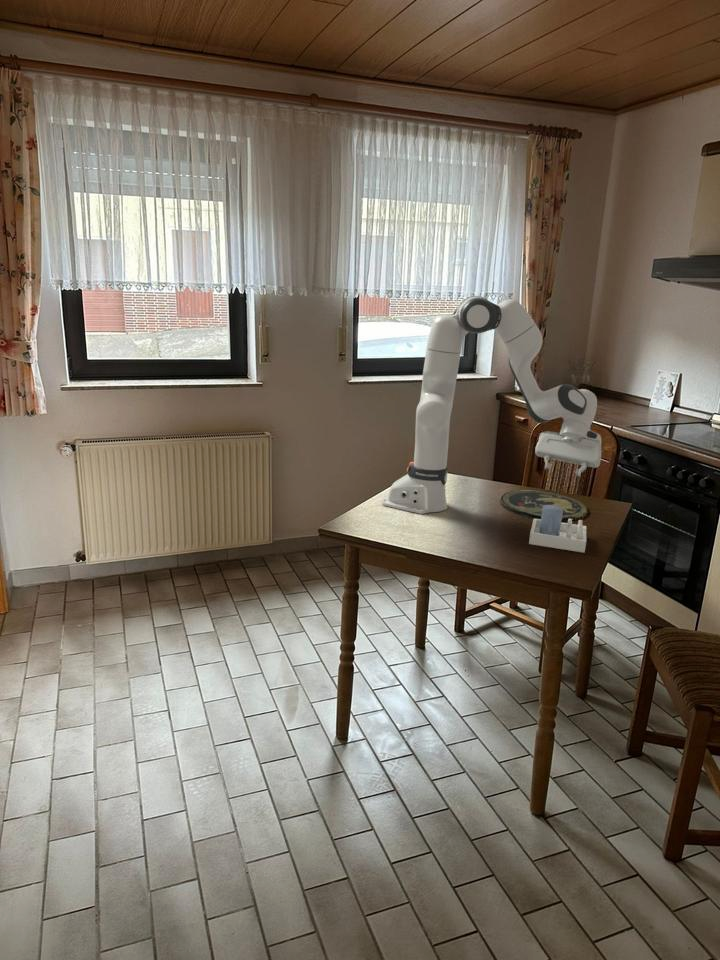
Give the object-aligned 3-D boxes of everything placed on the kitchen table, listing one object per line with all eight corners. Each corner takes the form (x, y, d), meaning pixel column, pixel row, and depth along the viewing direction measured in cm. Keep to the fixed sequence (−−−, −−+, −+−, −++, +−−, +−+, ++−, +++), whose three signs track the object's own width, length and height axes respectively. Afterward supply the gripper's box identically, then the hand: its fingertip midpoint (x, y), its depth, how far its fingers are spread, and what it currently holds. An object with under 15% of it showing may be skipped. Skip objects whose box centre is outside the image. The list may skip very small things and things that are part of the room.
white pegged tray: (528, 543, 201) (531, 525, 199) (532, 528, 214) (534, 510, 212) (584, 552, 197) (587, 533, 195) (584, 536, 209) (587, 518, 208)
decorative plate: (500, 511, 224) (500, 485, 252) (499, 516, 225) (499, 490, 253) (593, 522, 219) (582, 495, 247) (592, 527, 220) (582, 499, 248)
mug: (538, 539, 202) (541, 511, 200) (539, 531, 209) (543, 503, 207) (558, 542, 201) (562, 513, 198) (559, 534, 208) (563, 506, 205)
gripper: (540, 424, 218) (528, 460, 213) (606, 436, 209) (594, 474, 204) (542, 434, 223) (530, 470, 218) (605, 446, 215) (594, 483, 210)
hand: (561, 472), depth 211 cm, fingers open, 8 cm apart
